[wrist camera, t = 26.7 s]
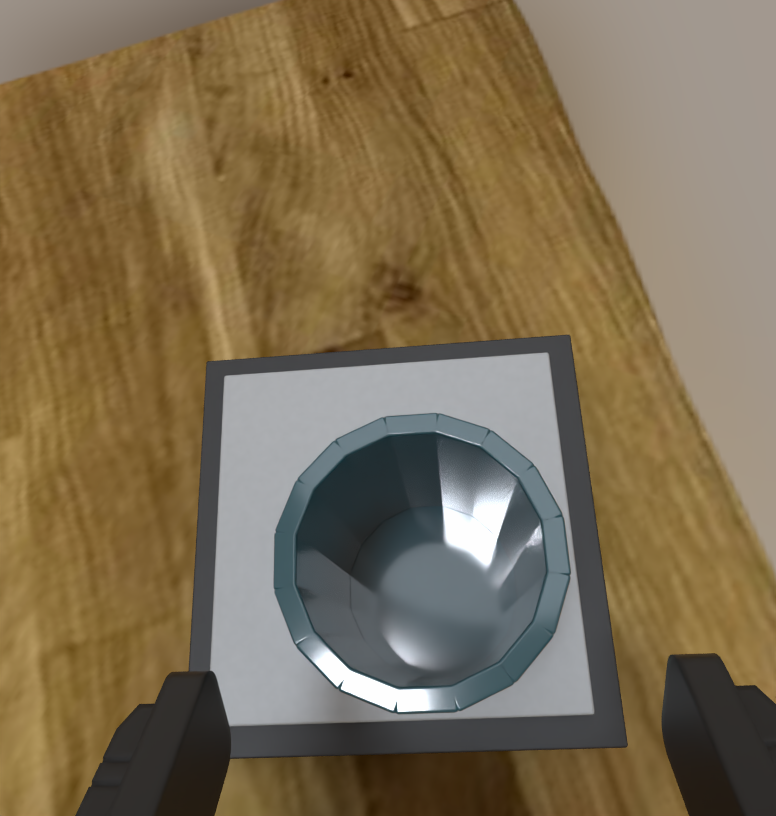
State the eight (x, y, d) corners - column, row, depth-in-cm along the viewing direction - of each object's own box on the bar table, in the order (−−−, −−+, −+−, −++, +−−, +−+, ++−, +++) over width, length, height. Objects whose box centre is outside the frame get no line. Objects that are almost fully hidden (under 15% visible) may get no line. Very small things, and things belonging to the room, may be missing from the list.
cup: (518, 490, 23) (550, 403, 15) (539, 688, 21) (588, 708, 13) (336, 501, 24) (275, 422, 16) (339, 696, 22) (270, 719, 14)
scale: (561, 360, 28) (573, 324, 25) (611, 738, 23) (634, 751, 20) (226, 384, 29) (199, 352, 26) (209, 750, 25) (173, 763, 21)
